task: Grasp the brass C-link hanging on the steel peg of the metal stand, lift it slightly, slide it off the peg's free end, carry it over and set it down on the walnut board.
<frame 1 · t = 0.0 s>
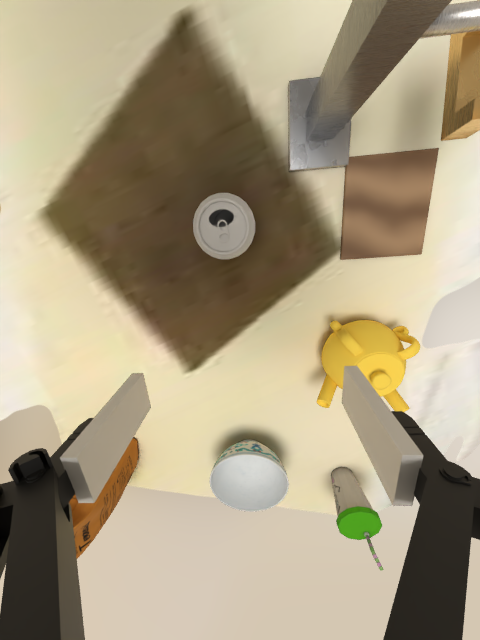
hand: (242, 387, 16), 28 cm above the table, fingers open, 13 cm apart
walnut board: (384, 208, 37), on the table
chinaware: (249, 450, 55), on the table
c link: (459, 86, 24), point 10 cm above the table, tilted 7°, touching stand
can: (231, 228, 40), on the table
coffee package: (119, 451, 58), on the table
teapot: (351, 352, 46), on the table
cup: (341, 473, 56), on the table
stand: (318, 127, 34), on the table
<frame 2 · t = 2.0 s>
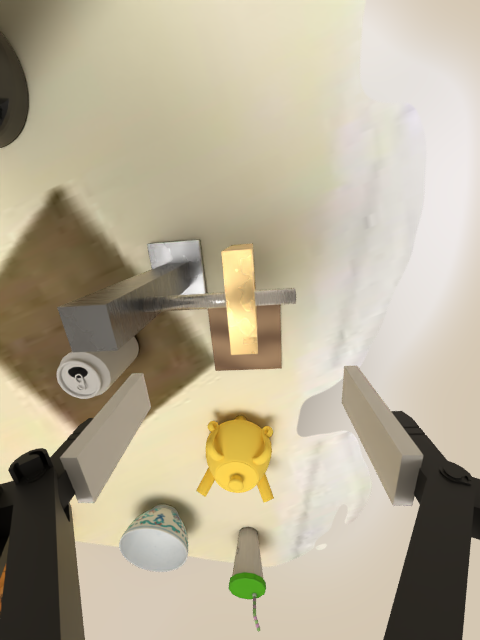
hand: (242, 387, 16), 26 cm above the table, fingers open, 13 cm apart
walnut board: (245, 332, 44), on the table
chinaware: (165, 512, 62), on the table
c link: (245, 282, 30), point 10 cm above the table, touching stand
can: (121, 343, 46), on the table
teapot: (239, 438, 52), on the table
cup: (248, 532, 63), on the table
stand: (179, 273, 41), on the table
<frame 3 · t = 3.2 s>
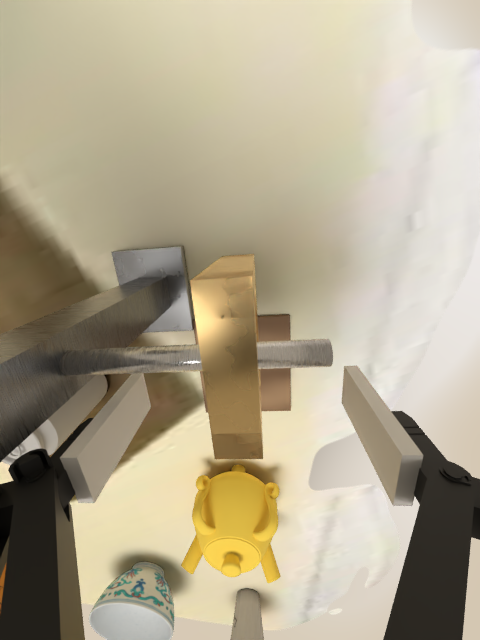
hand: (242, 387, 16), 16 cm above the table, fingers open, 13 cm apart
walnut board: (244, 365, 34), on the table
chinaware: (148, 570, 52), on the table
c link: (242, 311, 20), point 10 cm above the table, touching stand
can: (86, 376, 36), on the table
teapot: (236, 490, 42), on the table
cup: (248, 593, 52), on the table
stand: (157, 290, 31), on the table
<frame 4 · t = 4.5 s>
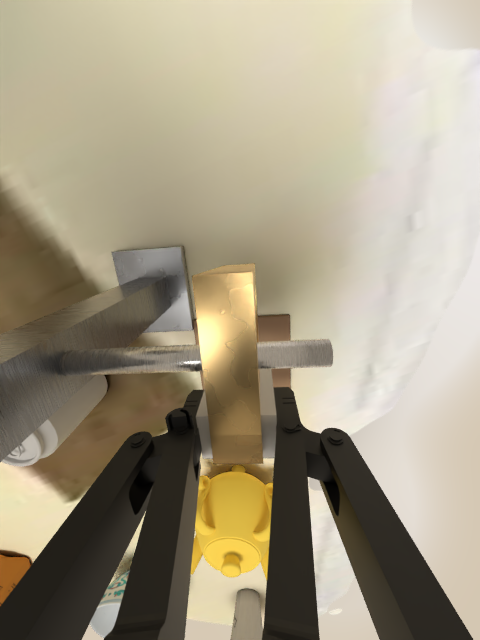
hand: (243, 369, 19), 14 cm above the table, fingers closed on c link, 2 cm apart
walnut board: (244, 366, 34), on the table
chinaware: (148, 570, 52), on the table
c link: (243, 320, 21), point 10 cm above the table, tilted 5°, touching gripper, stand
can: (86, 377, 36), on the table
coffee package: (14, 566, 54), on the table
teapot: (236, 490, 42), on the table
cup: (248, 593, 52), on the table
stand: (157, 290, 31), on the table
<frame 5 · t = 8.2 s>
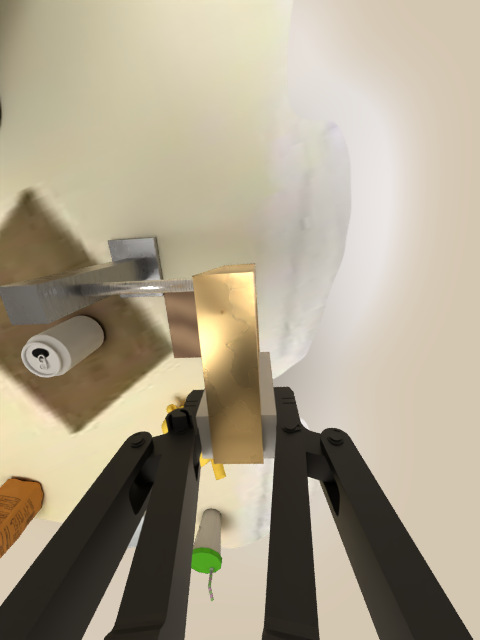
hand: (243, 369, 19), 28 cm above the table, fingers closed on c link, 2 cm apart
walnut board: (200, 323, 48), on the table
c link: (243, 320, 21), point 25 cm above the table, tilted 5°, touching gripper
can: (88, 331, 50), on the table
coffee package: (27, 491, 68), on the table
teapot: (199, 422, 57), on the table
cup: (212, 513, 67), on the table
stand: (139, 267, 45), on the table
when the fingers open (5 cm above the table, at t = 12.2 s): c link drops 1 cm, resting on walnut board.
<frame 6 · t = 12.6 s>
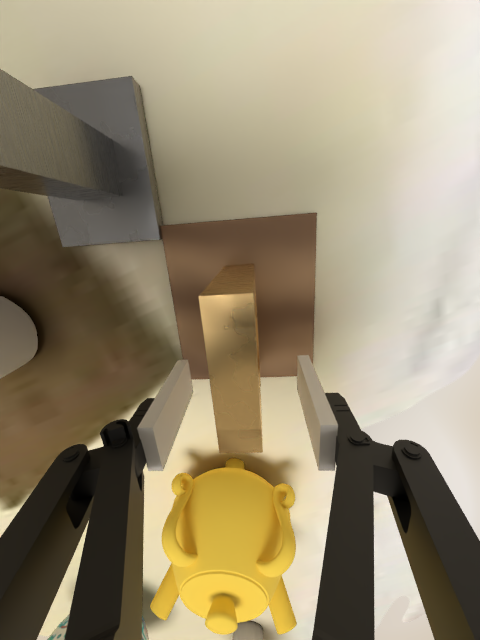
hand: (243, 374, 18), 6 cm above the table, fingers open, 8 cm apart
walnut board: (243, 305, 22), on the table
chinaware: (119, 596, 40), on the table
c link: (243, 317, 22), point 1 cm above the table, touching walnut board
can: (9, 327, 24), on the table
teapot: (232, 494, 31), on the table
cup: (248, 626, 41), on the table
stand: (103, 174, 19), on the table
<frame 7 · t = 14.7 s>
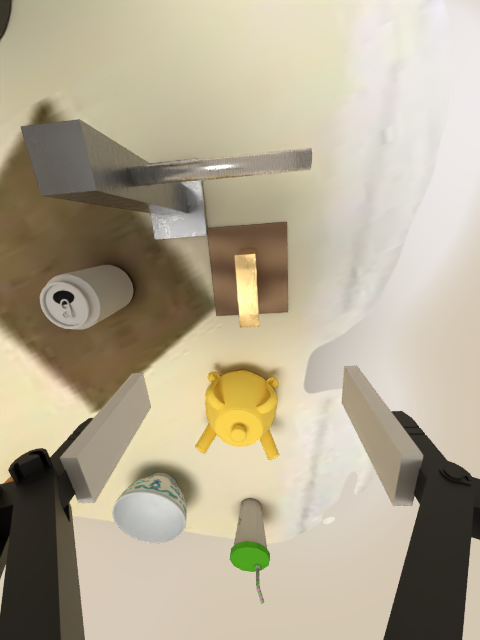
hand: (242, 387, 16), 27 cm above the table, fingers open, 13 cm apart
walnut board: (249, 271, 40), on the table
chinaware: (162, 482, 58), on the table
c link: (249, 277, 40), point 1 cm above the table, touching walnut board
can: (114, 286, 43), on the table
teapot: (241, 396, 49), on the table
cup: (250, 504, 59), on the table
stand: (177, 202, 37), on the table
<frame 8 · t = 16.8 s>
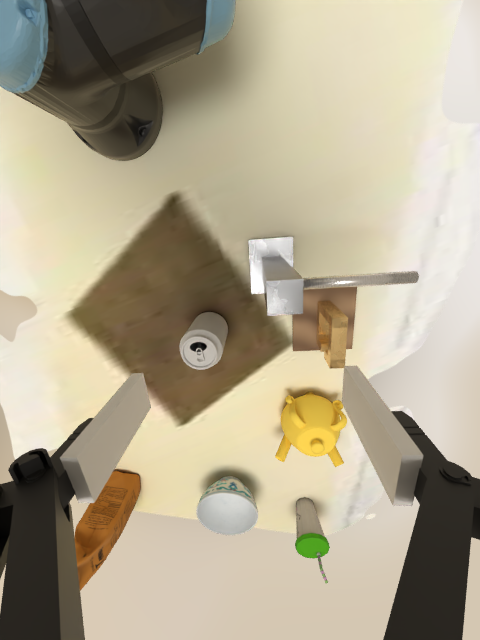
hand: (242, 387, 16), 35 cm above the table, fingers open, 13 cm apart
walnut board: (322, 317, 51), on the table
chinaware: (230, 484, 68), on the table
c link: (323, 322, 50), point 1 cm above the table, touching walnut board
can: (211, 327, 53), on the table
coffee package: (124, 483, 71), on the table
teapot: (305, 413, 59), on the table
cup: (304, 502, 69), on the table
stand: (271, 265, 48), on the table
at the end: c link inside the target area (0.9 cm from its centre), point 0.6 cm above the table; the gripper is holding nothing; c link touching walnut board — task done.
